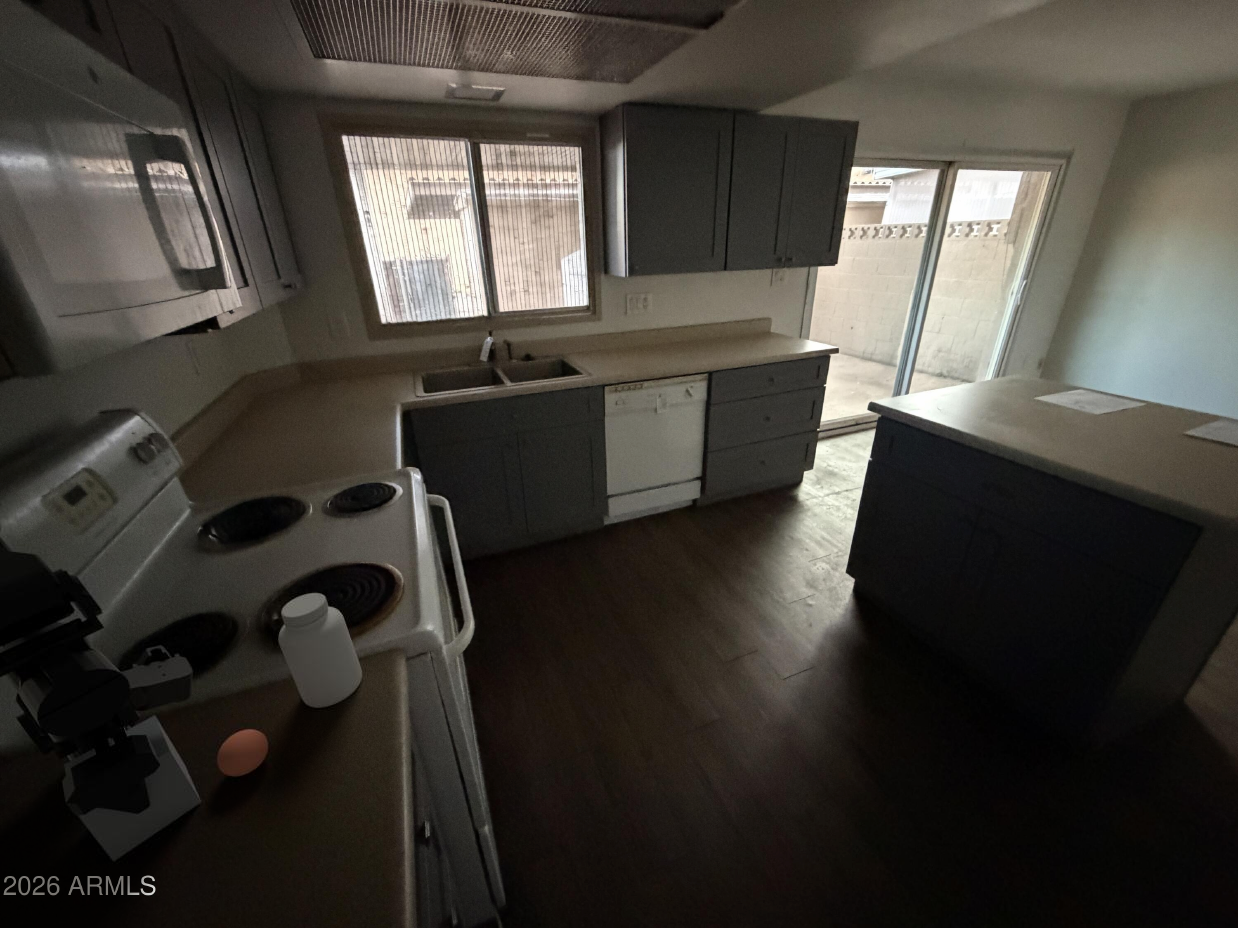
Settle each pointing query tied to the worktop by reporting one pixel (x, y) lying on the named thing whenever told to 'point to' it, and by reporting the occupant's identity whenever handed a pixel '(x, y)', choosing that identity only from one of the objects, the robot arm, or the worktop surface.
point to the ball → (242, 752)
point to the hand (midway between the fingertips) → (136, 785)
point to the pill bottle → (319, 651)
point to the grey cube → (165, 791)
